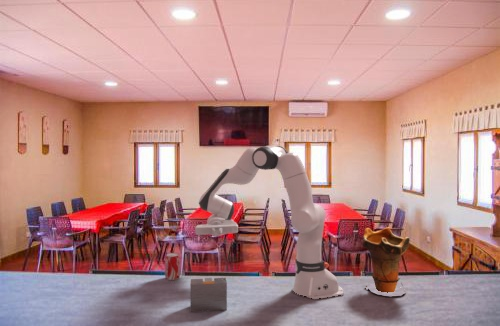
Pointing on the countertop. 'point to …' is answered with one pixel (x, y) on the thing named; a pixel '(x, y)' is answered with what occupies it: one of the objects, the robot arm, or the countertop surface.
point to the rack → (208, 295)
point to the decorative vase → (385, 256)
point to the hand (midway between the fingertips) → (217, 232)
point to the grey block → (208, 279)
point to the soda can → (172, 266)
